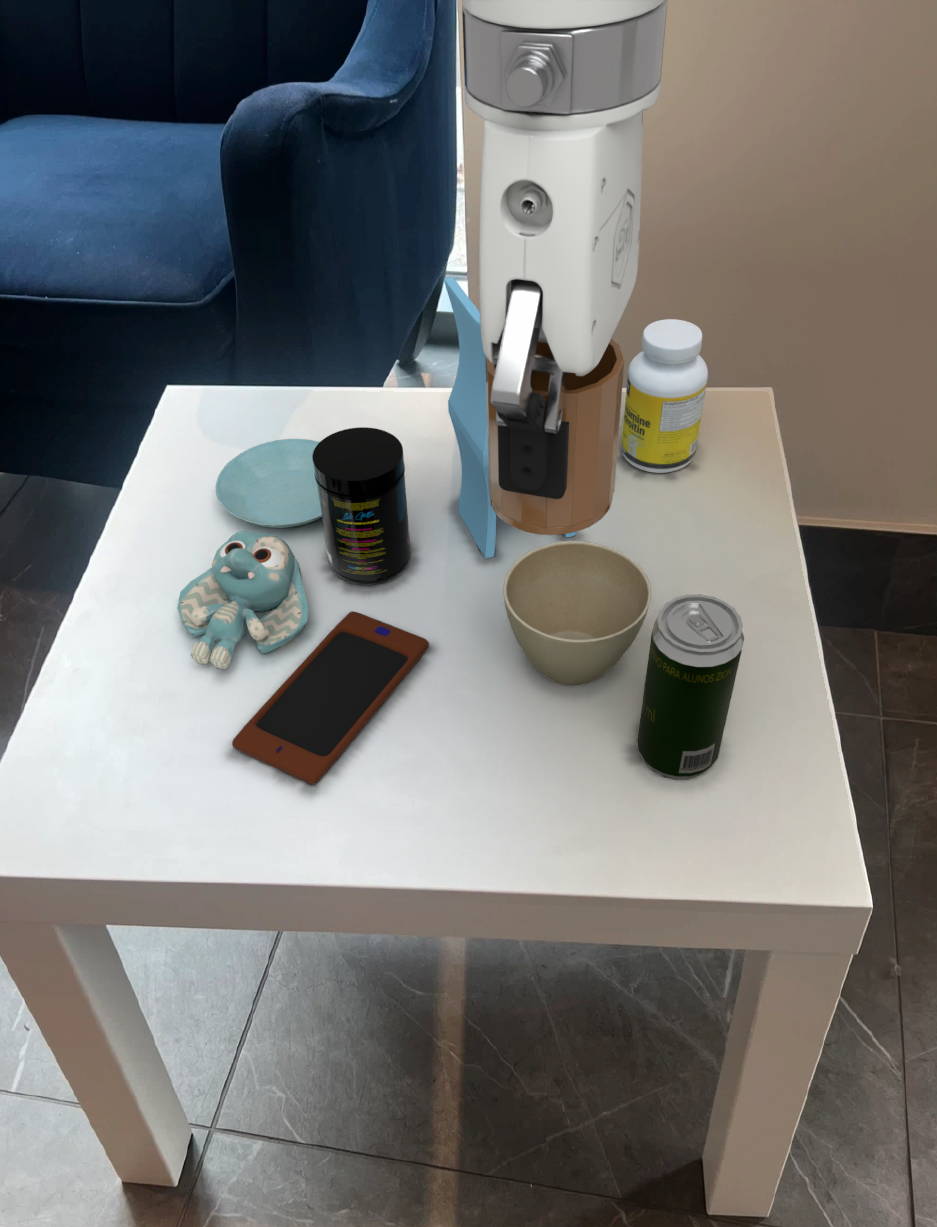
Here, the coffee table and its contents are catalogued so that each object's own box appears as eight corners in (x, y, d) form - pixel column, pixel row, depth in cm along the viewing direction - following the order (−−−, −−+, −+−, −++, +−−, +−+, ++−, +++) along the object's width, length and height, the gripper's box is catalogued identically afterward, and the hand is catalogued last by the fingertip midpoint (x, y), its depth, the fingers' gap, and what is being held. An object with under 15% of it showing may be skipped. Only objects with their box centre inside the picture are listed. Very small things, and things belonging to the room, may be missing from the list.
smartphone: (431, 638, 81) (313, 780, 72) (431, 647, 82) (315, 789, 73) (350, 606, 84) (228, 740, 75) (351, 616, 84) (230, 749, 76)
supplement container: (422, 577, 87) (414, 468, 80) (339, 598, 86) (323, 489, 78) (398, 526, 92) (389, 419, 84) (319, 545, 90) (302, 438, 83)
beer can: (734, 764, 73) (766, 635, 64) (666, 795, 71) (688, 667, 63) (686, 710, 76) (710, 580, 67) (620, 739, 75) (635, 610, 66)
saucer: (384, 508, 93) (382, 486, 92) (261, 564, 89) (257, 542, 88) (314, 444, 100) (310, 422, 99) (197, 493, 96) (191, 472, 95)
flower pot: (483, 692, 78) (482, 619, 73) (528, 601, 85) (529, 528, 79) (621, 728, 75) (629, 655, 70) (656, 631, 82) (667, 557, 76)
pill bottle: (621, 431, 99) (631, 311, 91) (694, 434, 98) (712, 313, 90) (619, 475, 95) (630, 353, 86) (696, 478, 94) (715, 355, 86)
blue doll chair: (538, 480, 95) (545, 256, 80) (576, 535, 90) (590, 305, 75) (452, 502, 93) (442, 278, 79) (484, 558, 88) (481, 329, 74)
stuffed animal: (123, 614, 78) (197, 490, 84) (155, 669, 84) (223, 550, 90) (258, 647, 75) (326, 516, 81) (282, 702, 81) (344, 577, 87)
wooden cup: (572, 447, 60) (578, 310, 54) (636, 510, 56) (649, 369, 50) (468, 482, 58) (463, 345, 52) (526, 550, 54) (526, 409, 48)
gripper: (605, 151, 35) (582, 574, 48) (703, -13, 46) (663, 368, 59) (388, 134, 37) (422, 544, 50) (530, -19, 48) (528, 351, 61)
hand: (552, 446), depth 55 cm, fingers closed on wooden cup, 6 cm apart
